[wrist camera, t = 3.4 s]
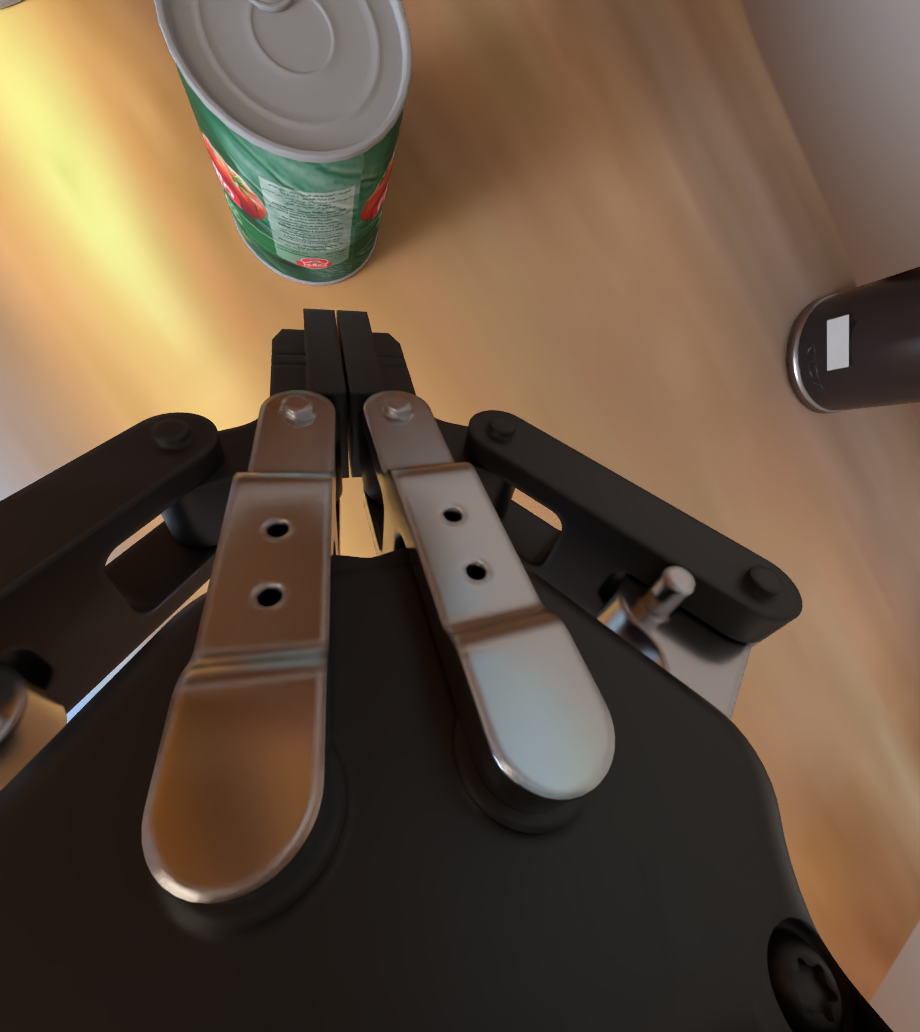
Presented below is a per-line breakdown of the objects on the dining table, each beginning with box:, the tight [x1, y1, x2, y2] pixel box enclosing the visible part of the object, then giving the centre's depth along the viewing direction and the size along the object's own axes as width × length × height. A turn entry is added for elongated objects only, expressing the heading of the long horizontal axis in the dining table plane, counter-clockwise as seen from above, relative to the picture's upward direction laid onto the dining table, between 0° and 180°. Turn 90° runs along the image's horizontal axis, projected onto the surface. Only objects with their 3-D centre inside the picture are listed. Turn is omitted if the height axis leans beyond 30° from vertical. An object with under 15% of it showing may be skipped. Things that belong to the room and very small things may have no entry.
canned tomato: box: [154, 0, 412, 286], centre depth 19 cm, size 8×8×11 cm
